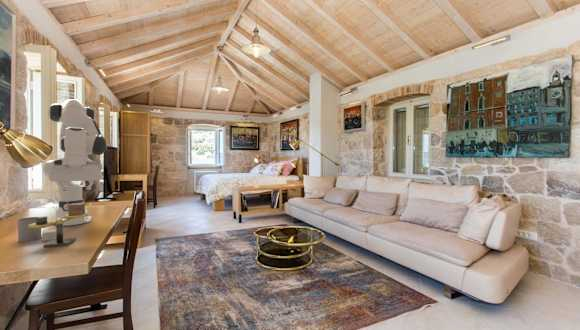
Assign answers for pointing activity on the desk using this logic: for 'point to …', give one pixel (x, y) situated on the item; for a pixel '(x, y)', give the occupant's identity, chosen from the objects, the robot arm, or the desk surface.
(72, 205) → the walnut block
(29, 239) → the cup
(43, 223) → the balance
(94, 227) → the desk surface
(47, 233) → the grey stone block
